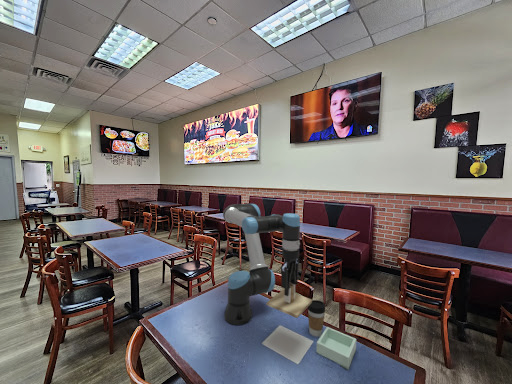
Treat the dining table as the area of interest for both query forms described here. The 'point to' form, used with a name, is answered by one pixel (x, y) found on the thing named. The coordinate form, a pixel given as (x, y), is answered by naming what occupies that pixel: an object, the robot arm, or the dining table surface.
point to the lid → (294, 306)
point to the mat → (288, 344)
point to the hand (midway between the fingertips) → (289, 299)
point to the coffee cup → (316, 317)
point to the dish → (337, 347)
